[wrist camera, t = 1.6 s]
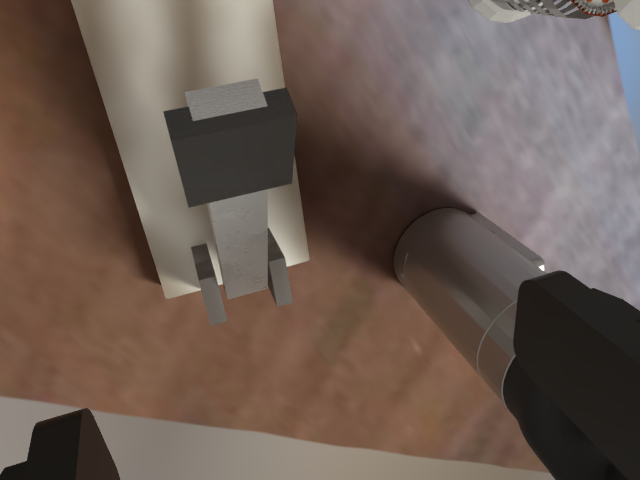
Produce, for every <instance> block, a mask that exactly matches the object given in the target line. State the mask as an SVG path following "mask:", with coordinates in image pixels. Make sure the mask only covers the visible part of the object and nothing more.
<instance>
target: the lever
mask: <svg viewBox="0 0 640 480" xmlns="http://www.w3.org/2000/svg"><path fill="white" fill-rule="evenodd" d="M185 96H186V101H187V106H188V107H183V108H178V109H173V110H168V111H163V113H164V117H165V120H166V124H167V128H168V132H169V136H170V140H171V143H172V147H173V151H174V155H175V158H176V162H177V166H178V170H179V174H180V177H181V181H182V185H183V189H184V192H185V196H186V200H187V204H188V207H189V208H190V207H194V206H199V205H203V204H207V206H208V211H209V216H210V221H211V226H212V231H213V236H214V241H215V246H216V251H217V256H218V261H219V266H220V271H221V276H222V281H223V285H224V289H225V293H226V297H227V300H228V299H231V298H235V297H238V296H242V295H246V294H249V293H253V292H257V291H260V290H264V289H267V288H268V189H271V188H275V187H279V186H284V185H288V184H292V178H293V165H294V152H295V139H296V126H297V114H296V111H295V108H294V106H293V103H292V101H291V98H290V96H289V93H288V91H287V88H281V89H276V90H271V91H266V92H262V89H261V86H260V84H259V81H258V78H257V79H252V80H247V81H241V82H236V83H231V84H225V85H220V86H215V87H209V88H204V89H199V90H193V91H188V92H185Z"/></svg>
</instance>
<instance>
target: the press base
mask: <svg viewBox="0 0 640 480" xmlns="http://www.w3.org/2000/svg"><path fill="white" fill-rule="evenodd" d="M71 2H72V5H73V8H74V11H75V15H76V18H77V21H78V24H79V27H80V30H81V33H82V37H83V40H84V43H85V46H86V49H87V52H88V55H89V59H90V62H91V65H92V68H93V71H94V74H95V77H96V81H97V84H98V87H99V90H100V93H101V96H102V99H103V102H104V106H105V109H106V112H107V115H108V118H109V121H110V124H111V128H112V131H113V134H114V137H115V140H116V143H117V146H118V150H119V153H120V156H121V159H122V162H123V165H124V168H125V172H126V175H127V178H128V181H129V184H130V187H131V190H132V194H133V197H134V200H135V203H136V206H137V209H138V212H139V216H140V219H141V222H142V225H143V228H144V231H145V234H146V238H147V241H148V244H149V247H150V250H151V253H152V256H153V260H154V263H155V266H156V269H157V272H158V275H159V278H160V281H161V285H162V288H163V291H164V294H165V297H166V299H169V298H173V297H176V296H180V295H184V294H188V293H191V292H195V291H199V290H201V291H202V294H203V298H204V302H205V305H206V309H207V313H208V316H209V320H210V324H211V326H212V325H215V324H219V323H222V322H226V321H227V318H226V314H225V310H224V306H223V302H222V298H221V294H220V290H219V286H218V285H221V284H223V281H222V276H221V271H220V266H219V261H218V256H217V251H216V246H215V241H214V236H213V231H212V226H211V221H210V216H209V211H208V206H207V204H203V205H199V206H194V207H190V208H189V207H188V204H187V200H186V196H185V192H184V189H183V185H182V181H181V177H180V174H179V170H178V166H177V162H176V158H175V155H174V151H173V147H172V143H171V140H170V136H169V132H168V128H167V124H166V120H165V117H164V113H163V111H168V110H173V109H178V108H183V107H188V106H187V101H186V96H185V92H188V91H193V90H199V89H204V88H209V87H215V86H220V85H225V84H231V83H236V82H241V81H247V80H252V79H257V78H258V81H259V84H260V86H261V89H262V92H266V91H271V90H276V89H281V88H285V84H284V77H283V70H282V63H281V56H280V49H279V42H278V35H277V28H276V21H275V14H274V7H273V0H71ZM306 261H309V253H308V246H307V239H306V232H305V225H304V218H303V211H302V204H301V197H300V190H299V183H298V176H297V169H296V162H295V155H294V165H293V178H292V184H288V185H284V186H279V187H275V188H271V189H268V287H269V289H270V291H271V294H272V296H273V298H274V300H275V303H276V305H277V307H278V306H282V305H285V304H289V303H292V296H291V290H290V284H289V278H288V272H287V266H291V265H295V264H298V263H302V262H306Z"/></svg>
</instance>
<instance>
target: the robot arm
mask: <svg viewBox="0 0 640 480" xmlns="http://www.w3.org/2000/svg"><path fill="white" fill-rule="evenodd" d="M394 270H395V274H396V276H397V278H398V280H399V281H400V282H401V283H402V284H403V286H404V287H405V289H406V290H407V291H408V293H410V294H411V295H412V297H413V298H414V299H415V300H416V301H417V303H418V304H419V305H420V306H421V307H422V309H423V310H424V311H425V312H426V313H427V315H428V316H429V317H430V318H431V319H432V320H433V322H434V323H435V324H436V325H437V326H438V327H439V329H440V330H441V331H442V332H443V333H444V335H445V336H446V337H447V338H448V339H449V340H450V342H451V343H452V344H453V345H454V346H455V348H456V349H457V350H458V351H459V352H460V353H461V355H462V356H463V357H464V358H465V359H466V360H467V362H468V363H469V364H470V365H471V366H472V368H473V369H474V370H475V371H476V372H477V373H478V375H479V376H480V377H481V378H482V379H483V380H484V381H485V383H486V384H487V385H488V386H489V387H490V389H491V390H492V391H493V392H494V393H495V394H496V396H497V397H498V398H499V399H500V400H501V401H502V403H503V404H504V405H505V406H506V407H507V408H508V409H509V411H510V412H511V413H512V414H513V415H514V417H515V418H516V419H517V421H518V423H519V425H520V429H521V431H522V433H523V435H524V437H525V439H526V441H527V443H528V444H529V446H530V447H531V449H532V450H533V451H534V453H535V454H536V455H537V456H538V458H539V459H540V460H541V462H542V463H543V464H544V465H545V467H546V468H547V469H548V470H549V472H550V473H551V474H552V476H553V477H554V478H555V480H640V311H639V310H637V309H636V308H634V307H633V306H632V305H630V304H629V303H627V302H626V301H624V300H623V299H620V298H617V297H615V296H612V295H610V294H607V293H605V292H602V291H600V290H597V289H595V288H592V289H590V288H588V287H587V286H586V285H584V284H583V283H581V282H580V281H579V280H577V279H576V278H574V277H573V276H572V275H570V274H569V273H567V272H565V271H555V272H552V273H548V274H547V273H546V272H545V261H544V260H543V259H542V258H541V257H540V256H539V255H537V254H536V253H534V252H533V251H532V250H530V249H529V248H527V247H526V246H525V245H523V244H522V243H520V242H519V241H518V240H516V239H515V238H514V237H512V236H511V235H509V234H508V233H507V232H505V231H504V230H502V229H501V228H500V227H498V226H497V225H496V224H494V223H493V222H491V221H490V220H489V219H487V218H486V217H484V216H483V215H482V214H480V213H474V214H468V213H466V212H464V211H462V210H460V209H455V208H441V209H437V210H433V211H431V212H429V213H427V214H425V215H423V216H421V217H420V218H418V219H417V220H416V221H414V222H413V223H412V224H411V225H410V226H409V227H408V228H407V229H406V231H405V232H404V234H403V235H402V236H401V238H400V240H399V242H398V244H397V246H396V250H395V254H394ZM0 480H120V477H119V474H118V471H117V468H116V465H115V463H114V461H113V459H112V457H111V454H110V452H109V450H108V448H107V446H106V443H105V441H104V439H103V437H102V434H101V432H100V430H99V428H98V426H97V423H96V421H95V419H94V417H93V415H92V413H91V411H90V410H89V409H87V408H85V409H81V410H78V411H75V412H72V413H68V414H64V415H61V416H58V417H54V418H51V419H47V420H44V421H41V422H38V423H36V425H35V426H34V429H33V432H32V437H31V443H30V448H29V453H28V458H27V461H25V462H22V463H19V464H16V465H13V466H10V467H6V468H4V470H3V471H2V473H1V474H0Z"/></svg>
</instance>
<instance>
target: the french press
mask: <svg viewBox="0 0 640 480" xmlns="http://www.w3.org/2000/svg"><path fill="white" fill-rule="evenodd" d="M555 1H557V0H469V2H470V4H471V6H472V8H473V9H475V10H476V11H477V12H479V13H480V14H481V15H483V16H484V17H485V18H486V19H488V20H491V21H498V22H506V23H509V22H512V21H515V20H518V19H521V18H524V17H527V16H529V15H530V14H542V15H548V16H555V17H563V18H578V19H587V18H590V17H593V16H601V17H603V16H605V15H608V14H611V13H614V12H616V11H617V13H618V15H619V16H621V18H623V20H624V21H625V22H627V23H628V24H629V25H630V26H631V27H632V28H633V29H637V30H640V0H571V2H572V4H571V5H569V6H568V7H567V8H565V9H563V10H560V11H559V10H557V9H558V8H560V7H562V6H563V5H564V4H566V3H567V2H569V1H570V0H562V1H561V2H560V3H558V4H557V5H554V2H555ZM542 4H544V5H543V6H541V5H542ZM540 6H541V7H540ZM576 6H577V7H578V8H579V10H577V11H575V12H573V13H571V14H569V15H564V14H563V13H565V12H567V11H569V10H572V9H573V8H575V7H576ZM544 8H547V9H548V10H546V11H544V10H543V9H544ZM538 11H539V12H538ZM550 12H551V13H552V14H547V13H550Z"/></svg>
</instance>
